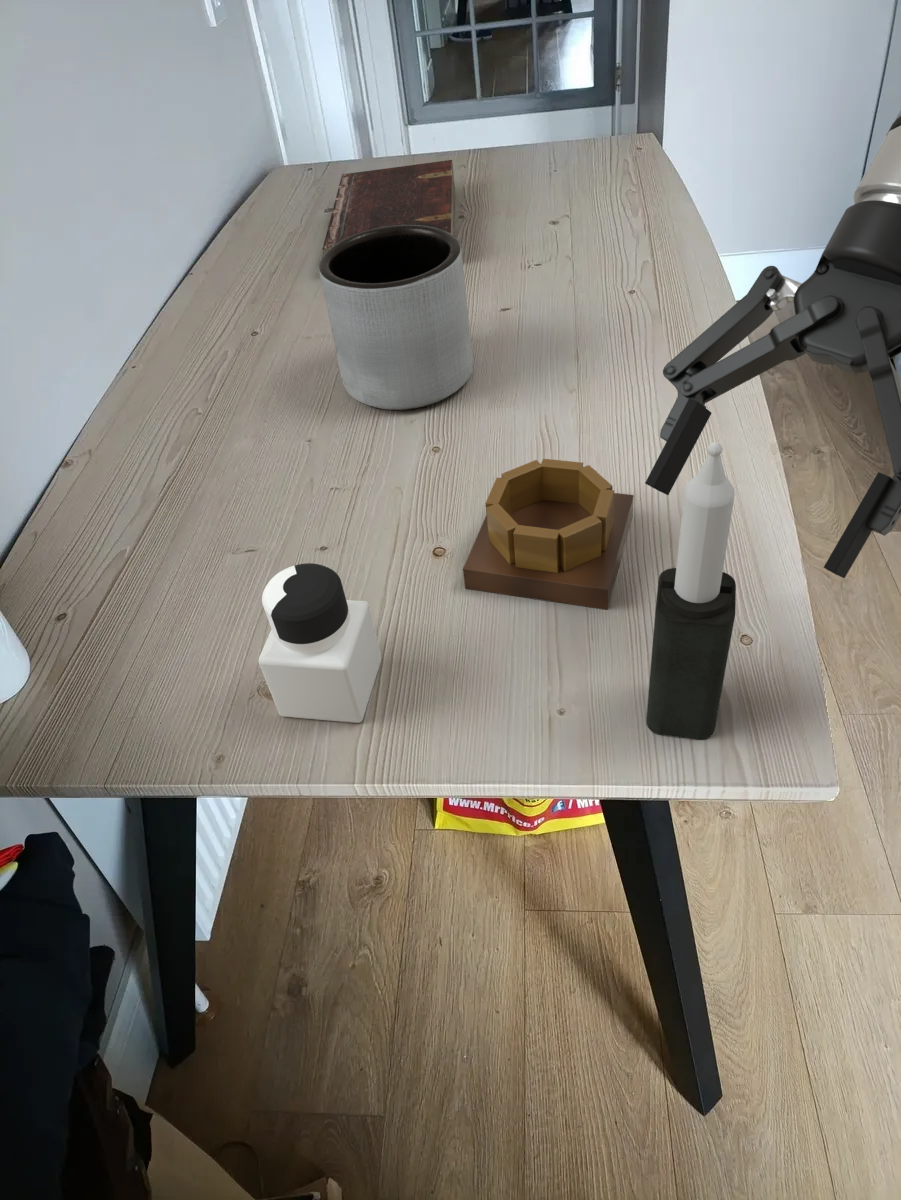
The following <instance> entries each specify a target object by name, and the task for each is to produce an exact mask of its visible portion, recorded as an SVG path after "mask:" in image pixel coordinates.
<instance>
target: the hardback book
mask: <svg viewBox="0 0 901 1200" xmlns="http://www.w3.org/2000/svg"><path fill="white" fill-rule="evenodd" d="M335 196H336V197H335V199H334V203H333V206H332V207H333V208H332V211H331V216H330V219H329V222H328V227H327V231H326V234H325V238H324V243H323V245H322V253H321V254H322V255H321V257H322V256H323V255H324V253H325V252H326V251H327V250H328V249H330V248H331V247H332V246H334V245H335V244H337V243H338V242H340V241H342V240H344V239H346V238H348V237H350V236H352V235H355V234H358V233H361V232H364V231H368V230H371V229H376V228H381V227H387V226H395V225H422V226H429V227H434V228H438V229H441V230H444V231H446V232H448V233H450V234H452V235H453V236H455V221H456V220H455V219H456V218H455V215H456V213H455V210H456V207H455V206H456V187H455V175H454V164H453V159H446V160H440V161H432V162H426V163H425V162H423V163H417V164H410V165H402V166H395V167H386V168H380V169H371V170H365V171H364V170H363V171H355V172H349V173H342V174H341V176H340V181H339V184H338V189H337V192H336V195H335Z"/></svg>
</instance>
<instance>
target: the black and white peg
mask: <svg viewBox="0 0 901 1200" xmlns="http://www.w3.org/2000/svg"><path fill="white" fill-rule="evenodd" d="M706 451H707V453H708V454H707V456H706V457H705V460H704V461H703V464H702V465H701V467H700V469H699V471H698V473H696V475H695V476H693V477H692V478H691V479H690V480H689V481H688V482H687V483H686V484H685V487H684V491H683V498H682V499H683V501H682V508H681V509H682V510H681V519H680V529H679V538H678V549H677V558H676V566H675V567H670V568H667V569H665V570H663V571H662V572H661V573H660V574H659V577H658V580H657V590H656V600H655V601H656V602H655V611H654V625H653V633H652V634H653V636H652V646H651V659H650V670H649V683H648V694H647V706H646V720H645V722H646V726H647V728H648V729H649V731H651V732H652V733H654V734H655V735H660V736H667V737H675V738H682V739H689V740H697V741H698V740H700V741H701V740H707V739H709V738H711V737H712V736H713V735H714V733H715V731H716V727H717V720H718V716H719V715H718V714H719V708H720V705H721V704H720V703H721V698H722V691H723V685H724V680H725V675H726V671H727V670H726V669H727V664H728V659H729V652H730V647H731V641H732V635H733V630H734V629H733V628H734V624H735V618H736V606H737V605H736V603H737V602H736V601H737V584H736V580H735V579H734V577H733V575H731V574H729V573H727V572H724V566H725V559H726V553H727V547H728V540H729V535H730V527H731V520H732V514H733V508H734V501H735V495H736V492H735V487H734V486H733V484H732V483H731V480H729V478H728V477H727V476H726V473H725V469H724V465H723V461H722V455H721V454H722V453H723V446H722V445H721V443H719V442H717V441H713V442H711V443H709V444H708V446H707V449H706Z"/></svg>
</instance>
